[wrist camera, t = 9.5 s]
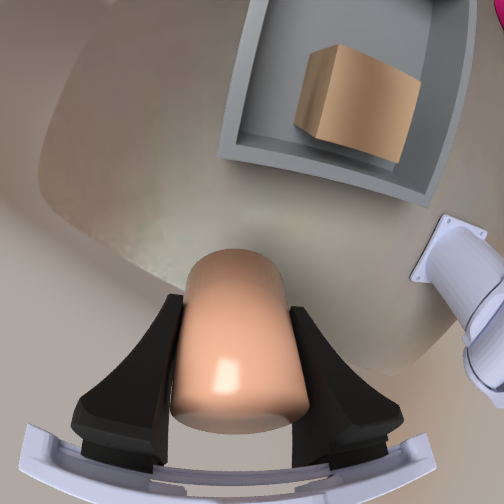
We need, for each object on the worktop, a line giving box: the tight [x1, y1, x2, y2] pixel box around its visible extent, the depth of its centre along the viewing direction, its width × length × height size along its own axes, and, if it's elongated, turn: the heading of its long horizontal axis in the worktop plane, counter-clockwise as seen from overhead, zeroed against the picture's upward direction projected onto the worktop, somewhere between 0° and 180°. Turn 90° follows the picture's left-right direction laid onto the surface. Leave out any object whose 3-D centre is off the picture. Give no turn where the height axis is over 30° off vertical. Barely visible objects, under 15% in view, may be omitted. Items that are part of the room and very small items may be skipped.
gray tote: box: [216, 0, 477, 208], centre depth 11 cm, size 14×18×5 cm
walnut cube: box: [293, 44, 421, 163], centre depth 13 cm, size 5×5×5 cm
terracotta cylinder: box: [170, 249, 309, 434], centre depth 11 cm, size 5×5×7 cm
